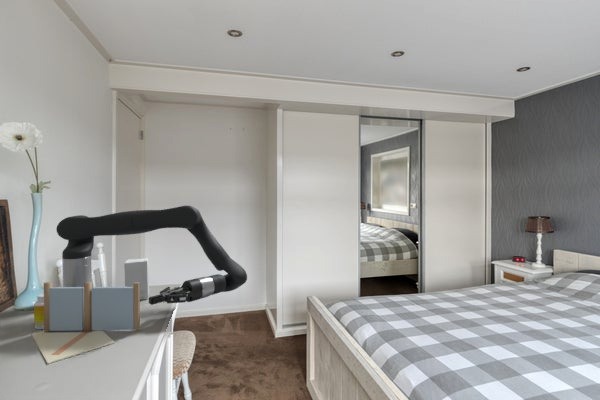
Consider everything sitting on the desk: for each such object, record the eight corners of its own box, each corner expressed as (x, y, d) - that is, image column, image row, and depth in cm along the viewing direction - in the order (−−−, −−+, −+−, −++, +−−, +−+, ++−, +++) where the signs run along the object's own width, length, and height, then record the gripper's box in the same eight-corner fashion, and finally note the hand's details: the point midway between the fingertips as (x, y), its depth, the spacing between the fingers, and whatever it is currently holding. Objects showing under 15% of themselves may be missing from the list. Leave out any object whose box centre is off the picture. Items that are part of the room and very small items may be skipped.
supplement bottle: (47, 330, 96) (47, 297, 96) (29, 330, 96) (29, 297, 96) (61, 322, 102) (60, 291, 101) (43, 322, 102) (43, 291, 101)
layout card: (31, 334, 93) (31, 333, 93) (90, 319, 104) (90, 318, 104) (47, 364, 78) (47, 362, 78) (114, 342, 89) (114, 341, 89)
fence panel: (91, 330, 95) (91, 283, 95) (94, 328, 96) (93, 282, 96) (138, 329, 96) (138, 283, 96) (139, 327, 97) (139, 282, 97)
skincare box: (149, 294, 130) (149, 257, 129) (148, 299, 124) (148, 261, 123) (127, 296, 127) (127, 258, 126) (124, 302, 121) (124, 262, 120)
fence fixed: (42, 333, 94) (41, 283, 93) (47, 330, 96) (47, 281, 95) (89, 333, 95) (89, 283, 94) (93, 330, 97) (93, 281, 96)
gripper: (189, 275, 118) (141, 285, 105) (208, 282, 109) (158, 294, 96) (189, 294, 118) (141, 307, 105) (208, 303, 109) (159, 318, 96)
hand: (149, 301), depth 100 cm, fingers closed
